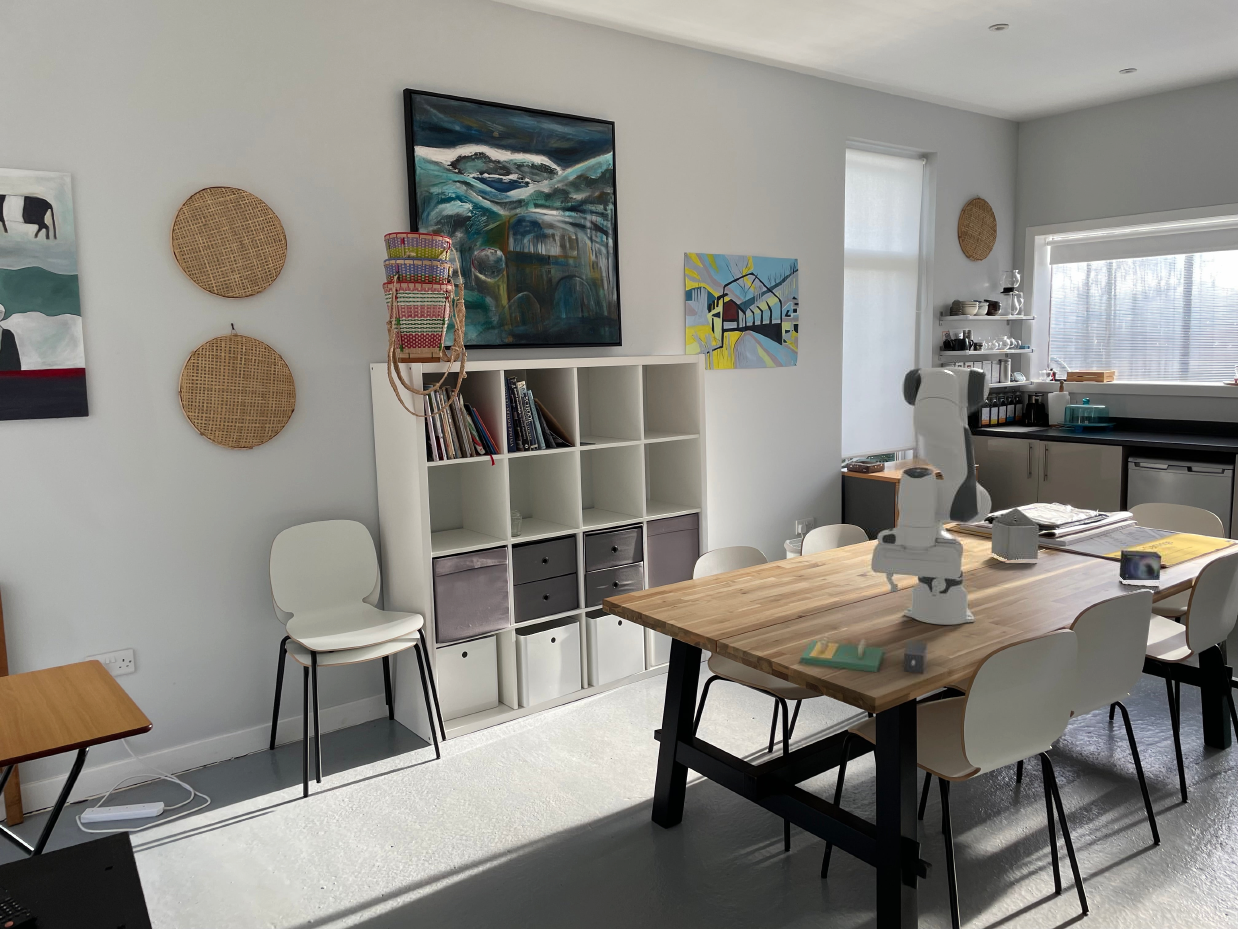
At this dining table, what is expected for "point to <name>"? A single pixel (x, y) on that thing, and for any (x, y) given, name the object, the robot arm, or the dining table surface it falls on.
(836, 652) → the board
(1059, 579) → the dining table surface
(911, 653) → the block
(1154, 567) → the small box
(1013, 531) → the planter
